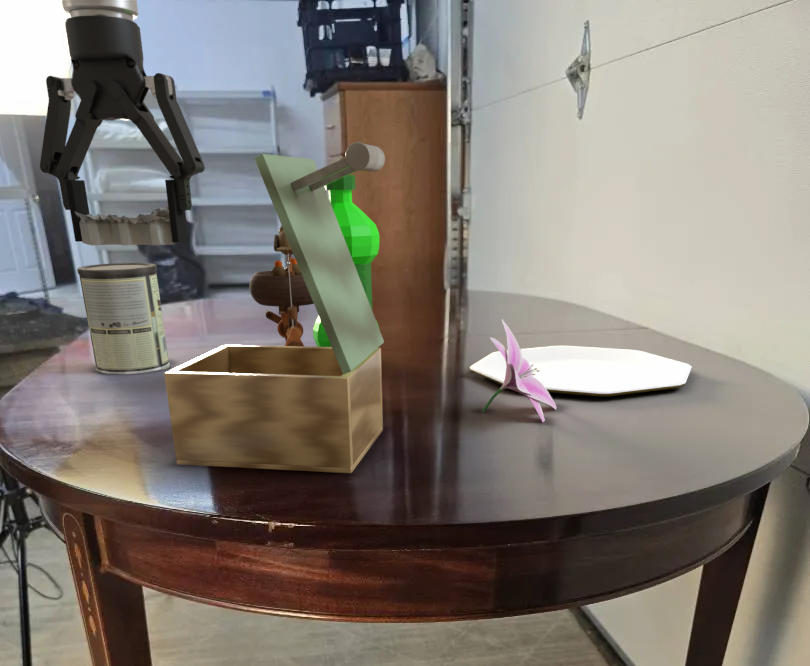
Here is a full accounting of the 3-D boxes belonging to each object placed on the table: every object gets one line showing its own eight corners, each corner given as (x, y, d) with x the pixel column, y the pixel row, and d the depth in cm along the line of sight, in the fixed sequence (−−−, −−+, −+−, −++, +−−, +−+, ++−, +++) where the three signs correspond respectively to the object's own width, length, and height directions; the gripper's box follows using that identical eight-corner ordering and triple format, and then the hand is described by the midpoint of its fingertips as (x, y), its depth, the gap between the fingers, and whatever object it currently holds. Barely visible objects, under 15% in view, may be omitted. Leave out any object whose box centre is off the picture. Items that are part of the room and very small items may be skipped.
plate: (544, 413, 87) (544, 400, 86) (442, 366, 110) (442, 356, 110) (735, 389, 96) (737, 377, 96) (604, 350, 120) (605, 340, 119)
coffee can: (87, 367, 112) (68, 265, 107) (156, 359, 118) (142, 261, 112) (107, 380, 105) (88, 271, 99) (180, 370, 110) (167, 266, 104)
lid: (253, 157, 59) (344, 113, 57) (306, 162, 71) (382, 126, 69) (342, 374, 65) (428, 342, 62) (377, 344, 77) (450, 317, 75)
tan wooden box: (177, 468, 71) (163, 372, 68) (232, 426, 83) (224, 344, 80) (351, 477, 69) (347, 378, 65) (383, 433, 81) (380, 348, 77)
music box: (354, 391, 97) (334, 220, 88) (270, 408, 94) (240, 232, 85) (317, 368, 110) (296, 217, 101) (242, 382, 106) (213, 227, 97)
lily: (500, 447, 79) (553, 366, 75) (426, 386, 84) (472, 307, 80) (553, 454, 88) (602, 382, 85) (484, 398, 94) (527, 328, 90)
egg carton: (185, 242, 94) (182, 205, 92) (169, 246, 87) (165, 206, 85) (97, 241, 94) (92, 205, 92) (74, 245, 87) (68, 206, 85)
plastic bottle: (300, 358, 117) (287, 176, 107) (358, 349, 123) (351, 176, 112) (335, 369, 110) (325, 174, 99) (395, 359, 115) (391, 174, 105)
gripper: (-24, 16, 80) (20, 242, 89) (192, 7, 76) (215, 244, 85) (21, 29, 86) (58, 238, 95) (222, 22, 83) (240, 240, 92)
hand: (132, 241), depth 90 cm, fingers closed on egg carton, 11 cm apart
